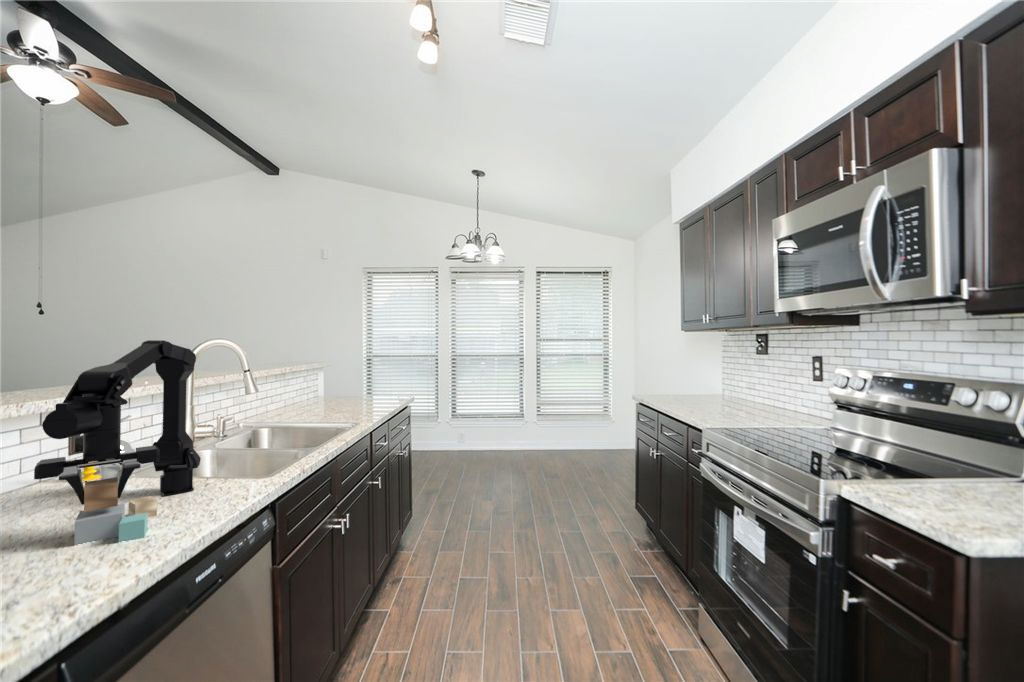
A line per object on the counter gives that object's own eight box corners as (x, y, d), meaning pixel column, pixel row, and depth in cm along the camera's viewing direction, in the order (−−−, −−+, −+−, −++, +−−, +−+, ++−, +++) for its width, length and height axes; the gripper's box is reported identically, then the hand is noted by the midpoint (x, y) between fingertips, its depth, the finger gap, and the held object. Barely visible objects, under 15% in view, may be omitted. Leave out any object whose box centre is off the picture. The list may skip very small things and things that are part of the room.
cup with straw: (85, 492, 112) (86, 419, 112) (124, 482, 121) (125, 414, 121) (105, 496, 110) (106, 422, 110) (144, 485, 118) (145, 416, 118)
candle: (87, 476, 126) (88, 426, 126) (106, 476, 126) (106, 425, 126) (70, 482, 120) (71, 429, 120) (89, 482, 121) (90, 429, 121)
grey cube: (124, 525, 93) (124, 503, 93) (121, 536, 88) (122, 513, 88) (79, 534, 89) (80, 511, 89) (74, 546, 83) (74, 522, 83)
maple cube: (149, 512, 100) (150, 495, 100) (156, 515, 98) (157, 499, 98) (128, 518, 97) (128, 501, 97) (135, 521, 95) (135, 504, 95)
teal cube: (147, 531, 90) (147, 512, 90) (144, 538, 87) (144, 519, 87) (122, 535, 88) (123, 517, 88) (118, 543, 85) (118, 523, 85)
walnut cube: (117, 499, 92) (117, 477, 92) (117, 505, 88) (117, 482, 88) (84, 505, 88) (85, 482, 88) (84, 512, 85) (84, 488, 85)
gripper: (156, 418, 101) (155, 481, 101) (41, 428, 88) (39, 501, 88) (160, 424, 93) (159, 493, 93) (34, 437, 80) (33, 517, 80)
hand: (101, 500), depth 88 cm, fingers closed on walnut cube, 5 cm apart
